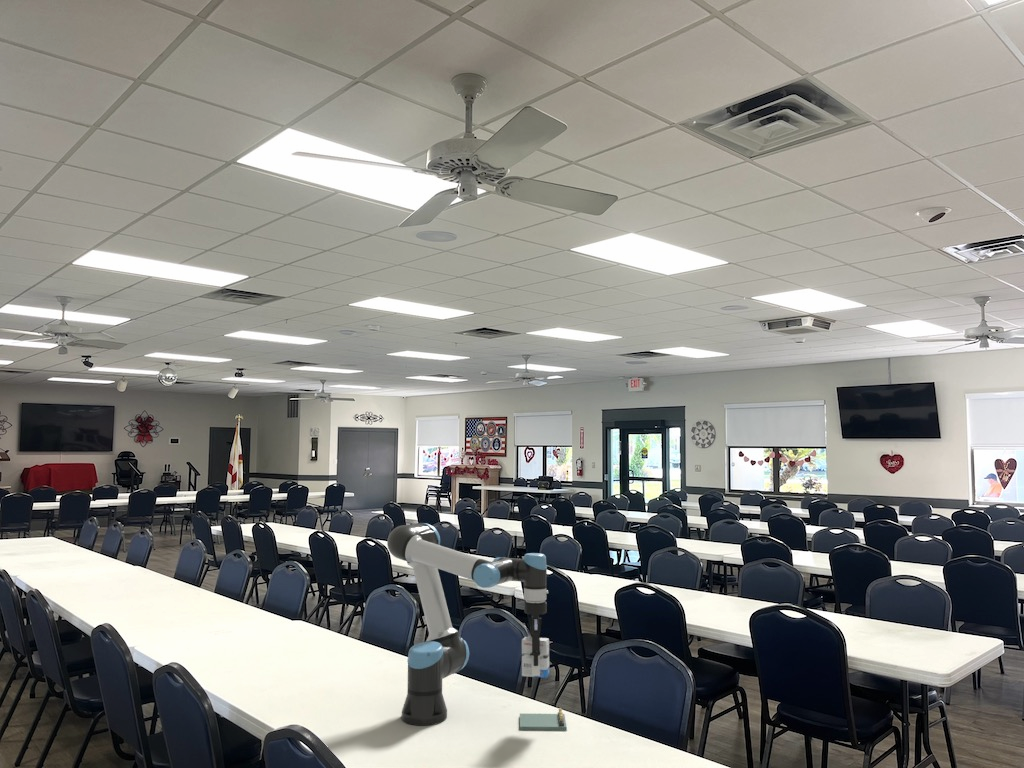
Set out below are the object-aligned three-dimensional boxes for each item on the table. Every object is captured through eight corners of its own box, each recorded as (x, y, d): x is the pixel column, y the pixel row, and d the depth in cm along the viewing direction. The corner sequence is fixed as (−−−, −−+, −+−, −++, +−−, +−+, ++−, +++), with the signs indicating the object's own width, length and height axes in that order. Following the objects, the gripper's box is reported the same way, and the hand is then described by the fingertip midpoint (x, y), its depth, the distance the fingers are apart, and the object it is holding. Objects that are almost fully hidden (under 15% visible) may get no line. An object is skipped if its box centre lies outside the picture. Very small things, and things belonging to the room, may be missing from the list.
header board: (519, 729, 231) (519, 718, 231) (519, 716, 243) (519, 705, 243) (566, 730, 231) (566, 718, 231) (564, 717, 243) (564, 705, 243)
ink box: (549, 674, 240) (549, 637, 241) (546, 678, 235) (546, 641, 236) (525, 672, 242) (525, 635, 243) (521, 676, 237) (521, 639, 238)
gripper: (547, 606, 232) (548, 681, 229) (545, 595, 250) (545, 664, 248) (524, 606, 232) (524, 681, 229) (524, 595, 251) (524, 664, 248)
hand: (535, 672), depth 239 cm, fingers closed on ink box, 6 cm apart
